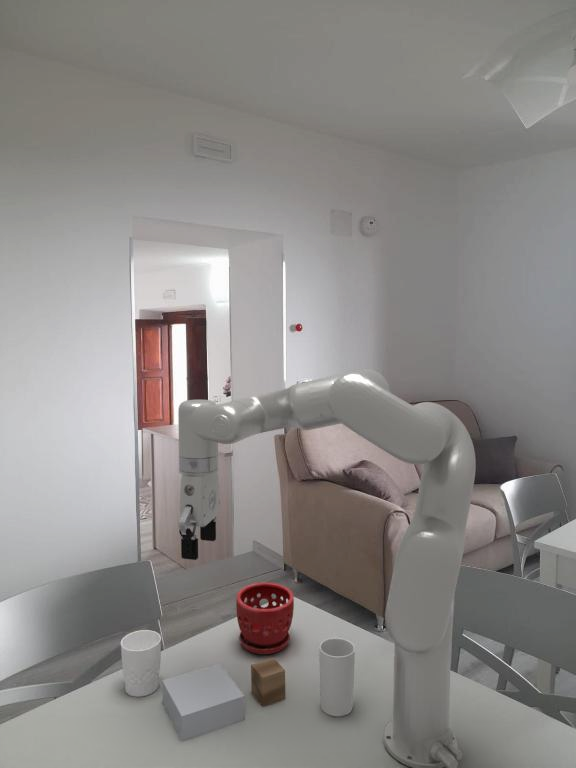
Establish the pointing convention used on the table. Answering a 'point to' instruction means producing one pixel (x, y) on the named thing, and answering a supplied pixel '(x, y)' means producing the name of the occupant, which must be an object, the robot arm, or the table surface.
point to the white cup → (141, 662)
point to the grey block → (202, 701)
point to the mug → (336, 676)
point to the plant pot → (264, 617)
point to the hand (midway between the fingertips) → (199, 549)
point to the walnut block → (268, 682)
